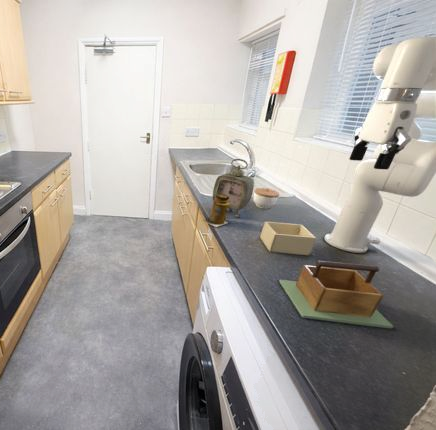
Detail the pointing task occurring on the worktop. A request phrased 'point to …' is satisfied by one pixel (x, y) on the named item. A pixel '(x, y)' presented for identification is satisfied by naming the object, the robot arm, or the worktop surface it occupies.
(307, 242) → the cream basket
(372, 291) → the wooden basket
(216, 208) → the condiment
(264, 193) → the trinket box
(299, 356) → the worktop surface
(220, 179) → the tabletop clock
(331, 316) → the green mat
